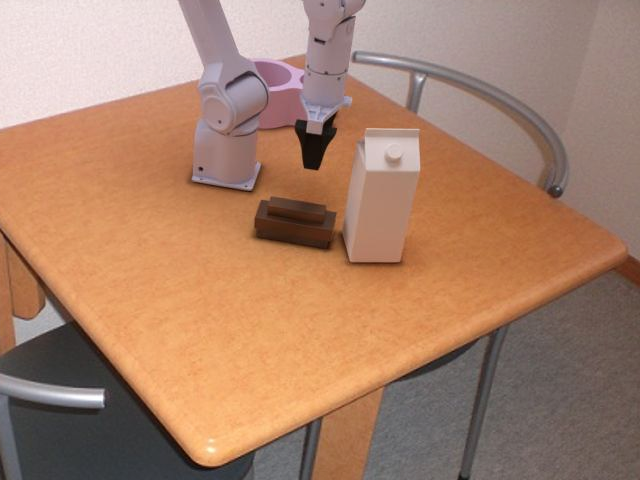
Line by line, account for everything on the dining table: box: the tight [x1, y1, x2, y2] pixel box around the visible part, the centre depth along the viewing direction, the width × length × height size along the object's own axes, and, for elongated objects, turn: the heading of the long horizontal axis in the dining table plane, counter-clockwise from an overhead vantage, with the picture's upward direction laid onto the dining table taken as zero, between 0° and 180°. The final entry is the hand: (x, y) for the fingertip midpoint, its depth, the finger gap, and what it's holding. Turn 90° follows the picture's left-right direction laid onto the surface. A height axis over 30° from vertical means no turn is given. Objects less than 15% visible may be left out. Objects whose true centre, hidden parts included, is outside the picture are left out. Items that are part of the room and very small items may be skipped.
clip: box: [228, 57, 308, 130], centre depth 152 cm, size 20×12×7 cm, turn 81°
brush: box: [253, 195, 338, 250], centre depth 125 cm, size 11×5×5 cm, turn 79°
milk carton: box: [341, 127, 421, 263], centre depth 119 cm, size 7×7×19 cm
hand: (315, 154), depth 126 cm, fingers open, 7 cm apart
